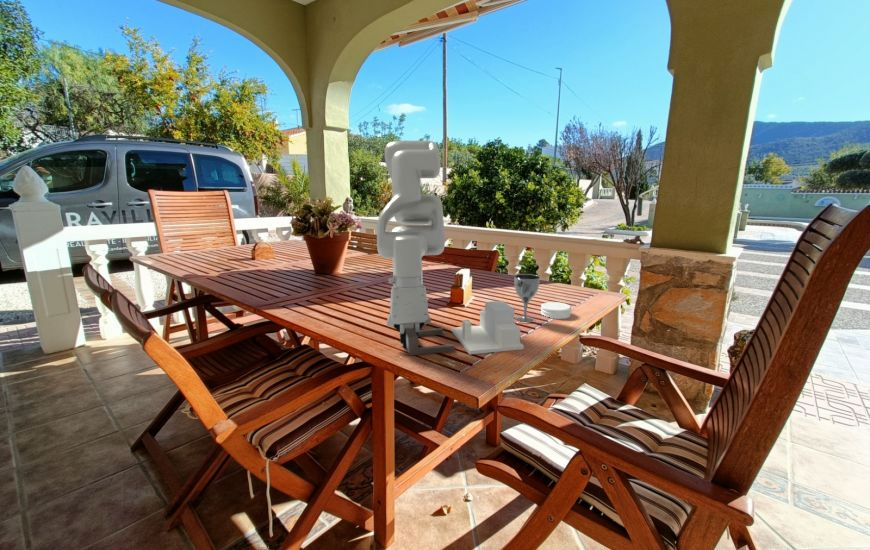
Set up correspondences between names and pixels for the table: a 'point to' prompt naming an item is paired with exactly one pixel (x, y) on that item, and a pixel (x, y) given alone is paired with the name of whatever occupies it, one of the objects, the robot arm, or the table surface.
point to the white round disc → (556, 310)
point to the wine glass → (526, 291)
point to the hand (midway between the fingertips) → (409, 344)
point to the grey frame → (414, 350)
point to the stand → (490, 330)
